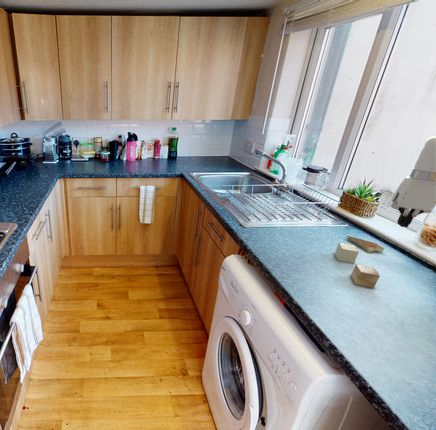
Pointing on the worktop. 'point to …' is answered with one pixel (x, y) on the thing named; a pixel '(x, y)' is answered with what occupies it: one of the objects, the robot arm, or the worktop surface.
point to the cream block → (346, 253)
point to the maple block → (365, 276)
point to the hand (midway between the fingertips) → (402, 225)
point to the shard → (366, 244)
